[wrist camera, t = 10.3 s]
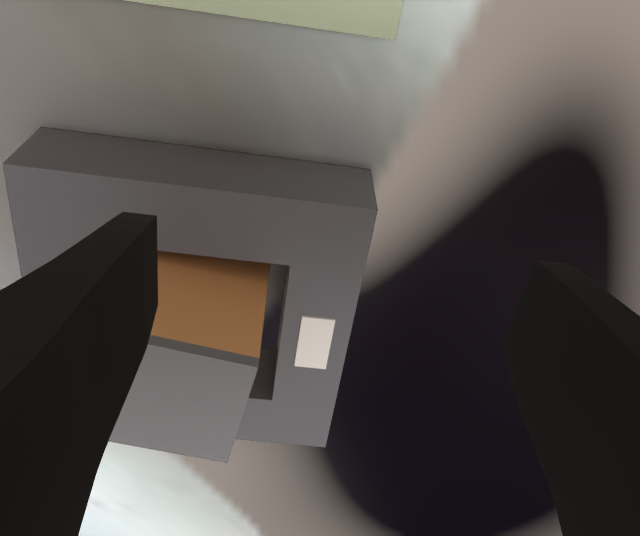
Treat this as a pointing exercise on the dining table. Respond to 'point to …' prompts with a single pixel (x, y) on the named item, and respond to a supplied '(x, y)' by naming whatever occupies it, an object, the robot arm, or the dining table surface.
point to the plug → (197, 357)
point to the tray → (306, 13)
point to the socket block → (219, 244)
